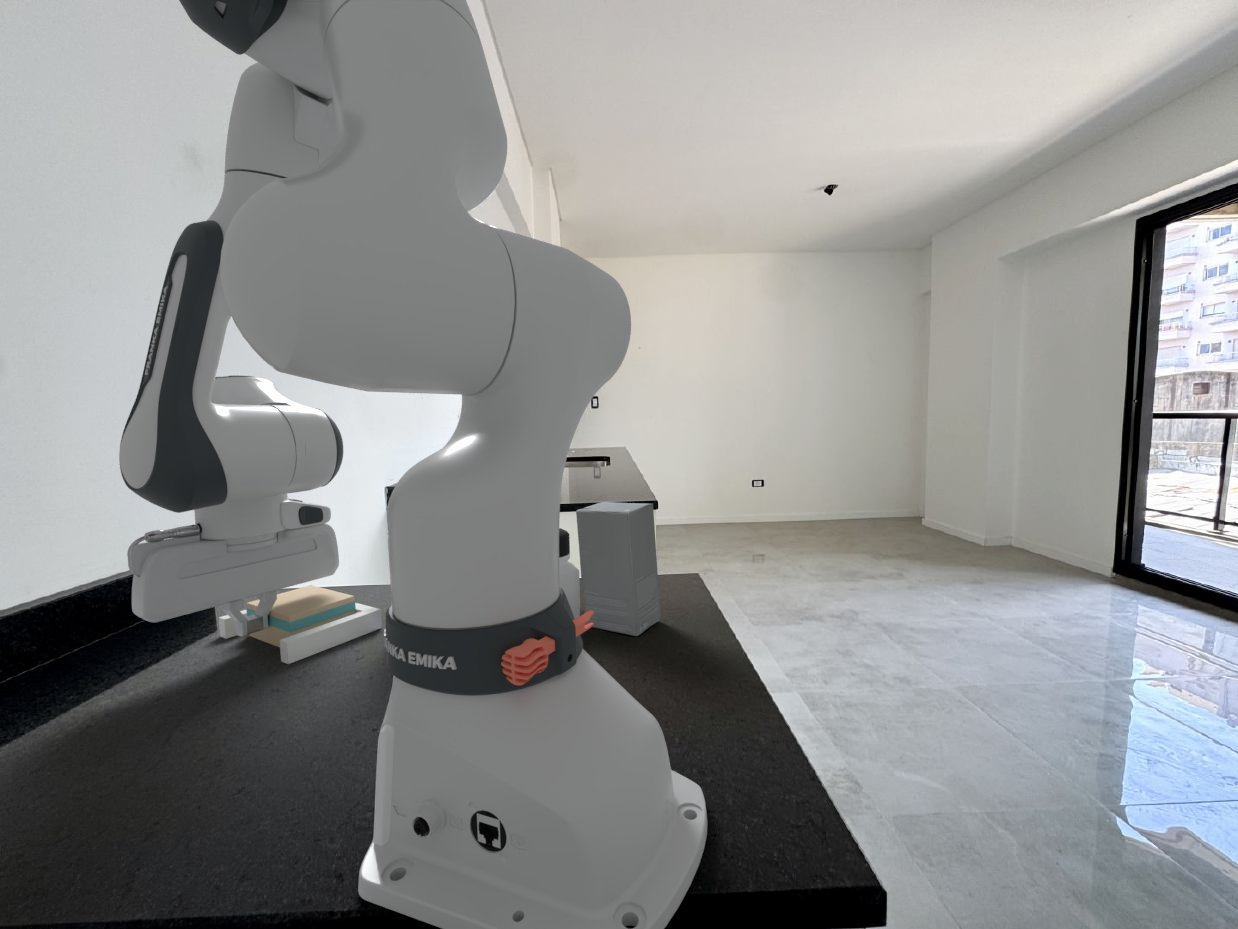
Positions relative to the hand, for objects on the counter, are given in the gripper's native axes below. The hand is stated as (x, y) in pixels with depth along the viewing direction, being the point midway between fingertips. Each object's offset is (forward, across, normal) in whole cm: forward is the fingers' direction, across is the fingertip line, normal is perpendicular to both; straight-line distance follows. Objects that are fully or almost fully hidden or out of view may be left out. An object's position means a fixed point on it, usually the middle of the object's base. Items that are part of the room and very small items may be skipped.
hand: (252, 632), depth 61 cm
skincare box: (+2, +26, -35) cm, 44 cm away
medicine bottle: (+2, +25, -25) cm, 35 cm away
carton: (+2, +6, 0) cm, 6 cm away
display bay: (+2, +5, 0) cm, 5 cm away
